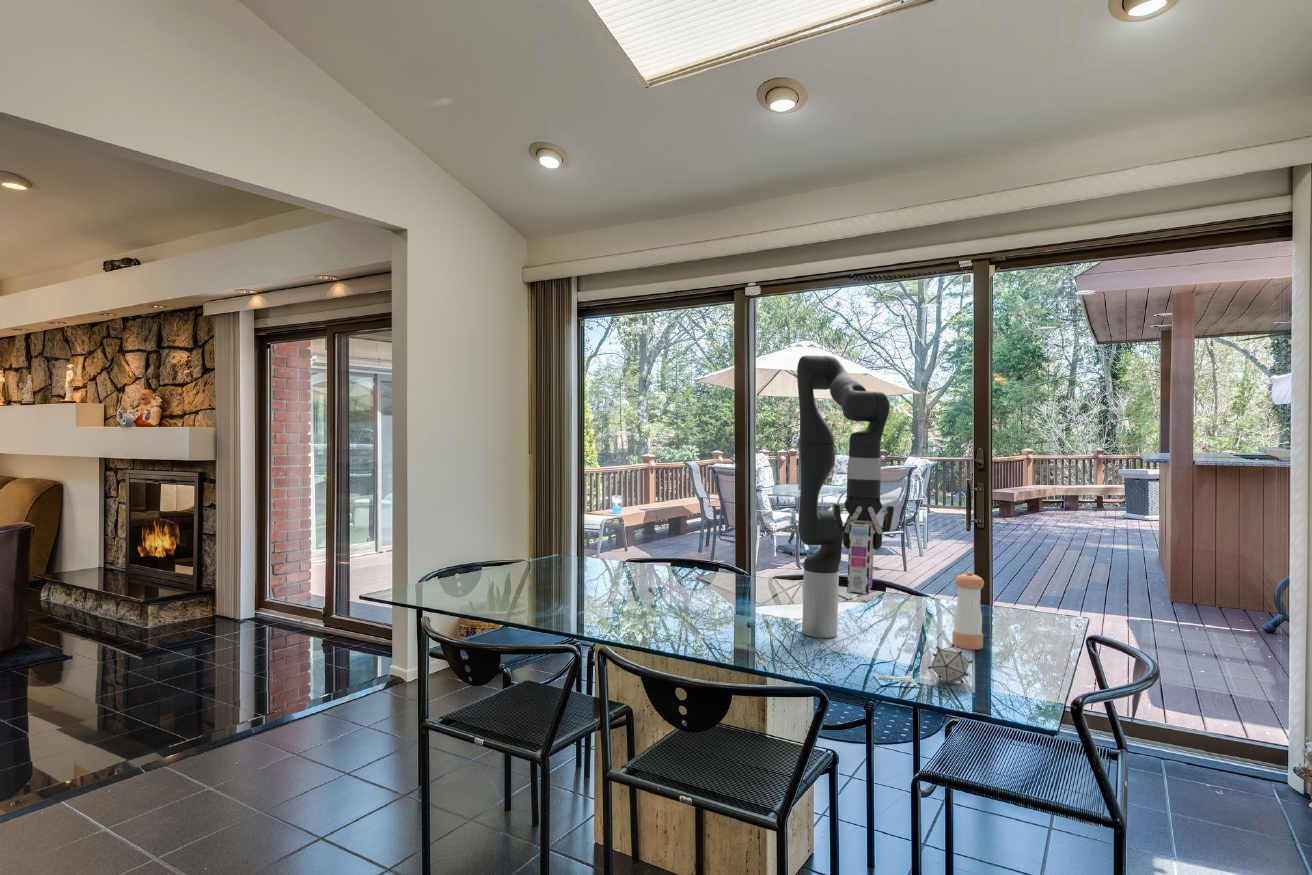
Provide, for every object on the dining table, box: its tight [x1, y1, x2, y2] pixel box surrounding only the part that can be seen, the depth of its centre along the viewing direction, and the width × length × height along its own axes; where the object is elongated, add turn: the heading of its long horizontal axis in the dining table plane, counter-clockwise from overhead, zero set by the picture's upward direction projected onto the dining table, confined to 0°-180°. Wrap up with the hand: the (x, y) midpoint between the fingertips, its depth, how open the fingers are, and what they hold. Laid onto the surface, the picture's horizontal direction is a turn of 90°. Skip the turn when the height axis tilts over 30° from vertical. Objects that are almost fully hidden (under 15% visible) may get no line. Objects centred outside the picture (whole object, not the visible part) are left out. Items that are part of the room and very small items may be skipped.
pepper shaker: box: [951, 571, 985, 651], centre depth 187 cm, size 7×7×19 cm
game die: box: [927, 644, 974, 687], centre depth 159 cm, size 9×8×10 cm
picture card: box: [873, 674, 920, 688], centre depth 158 cm, size 6×8×1 cm
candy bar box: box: [846, 520, 875, 596], centre depth 168 cm, size 11×5×16 cm, turn 159°
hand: (861, 548), depth 168 cm, fingers closed on candy bar box, 6 cm apart
